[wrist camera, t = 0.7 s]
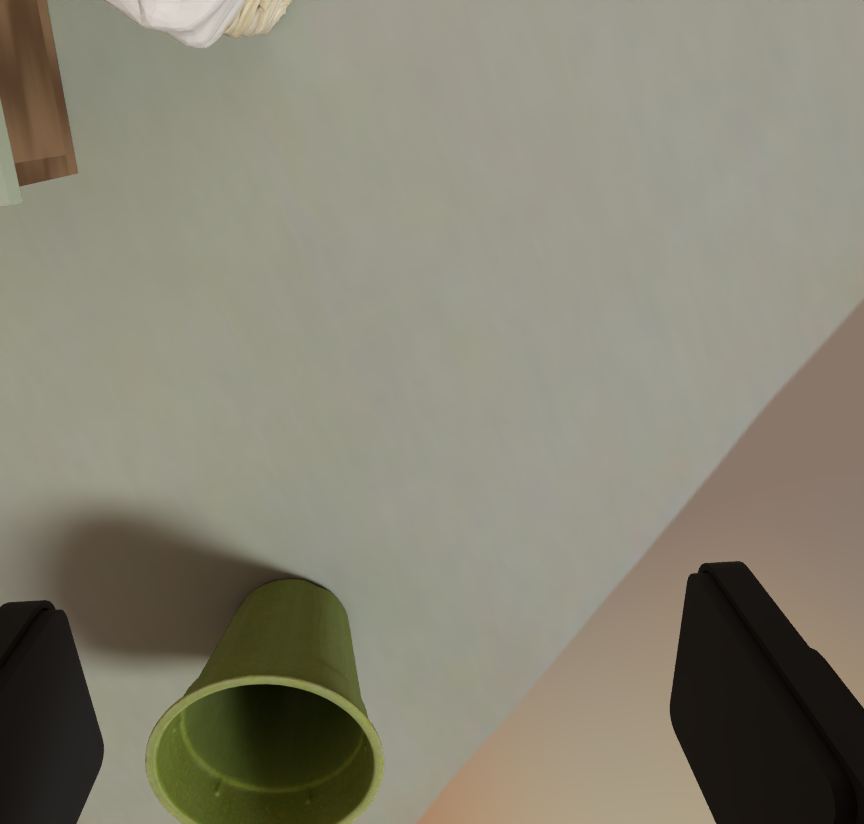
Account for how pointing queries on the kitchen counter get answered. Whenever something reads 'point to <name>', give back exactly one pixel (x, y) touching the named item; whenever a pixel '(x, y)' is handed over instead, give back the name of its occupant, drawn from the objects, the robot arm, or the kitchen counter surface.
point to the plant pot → (271, 721)
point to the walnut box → (33, 93)
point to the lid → (7, 168)
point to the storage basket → (204, 17)
